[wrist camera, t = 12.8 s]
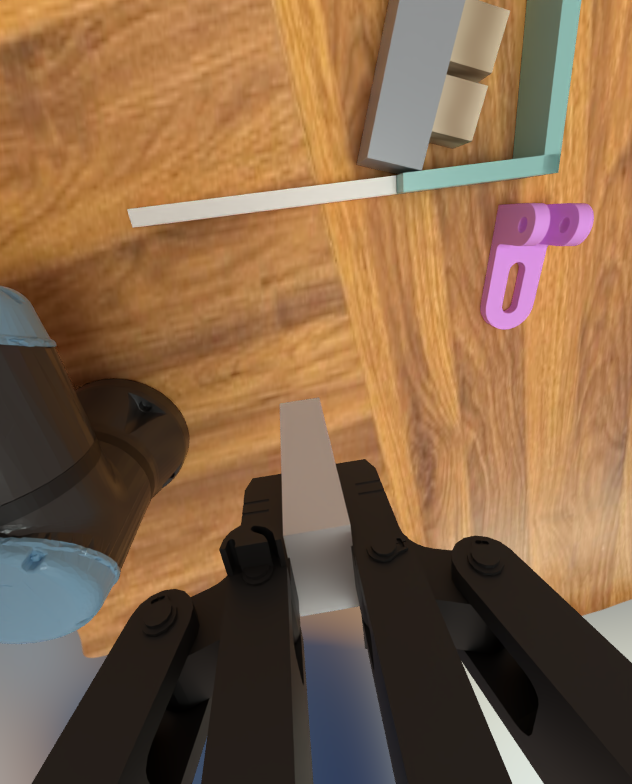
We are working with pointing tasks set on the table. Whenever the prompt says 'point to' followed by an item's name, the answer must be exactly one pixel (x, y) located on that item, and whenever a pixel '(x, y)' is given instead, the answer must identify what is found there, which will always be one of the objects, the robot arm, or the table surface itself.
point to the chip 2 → (457, 112)
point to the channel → (262, 201)
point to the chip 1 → (477, 40)
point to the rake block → (408, 83)
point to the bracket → (527, 253)
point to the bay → (525, 104)
